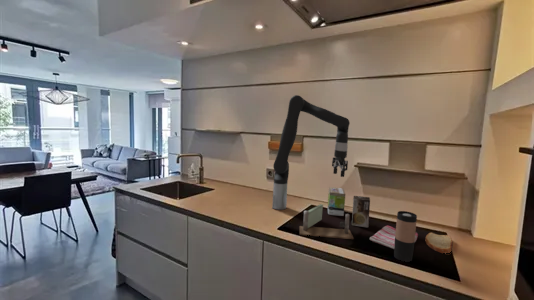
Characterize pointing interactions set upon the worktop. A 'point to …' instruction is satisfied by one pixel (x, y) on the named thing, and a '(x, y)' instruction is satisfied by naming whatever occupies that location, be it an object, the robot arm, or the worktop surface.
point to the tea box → (336, 201)
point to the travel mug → (405, 236)
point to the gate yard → (326, 229)
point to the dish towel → (386, 236)
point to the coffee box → (361, 211)
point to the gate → (315, 215)
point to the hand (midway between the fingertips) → (338, 175)
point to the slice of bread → (439, 242)
